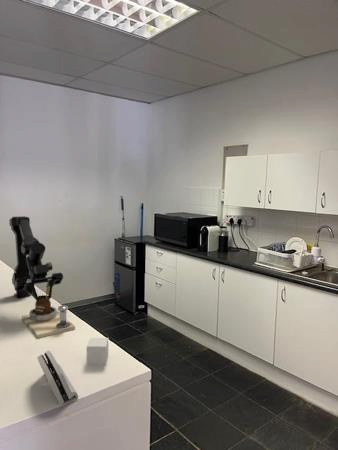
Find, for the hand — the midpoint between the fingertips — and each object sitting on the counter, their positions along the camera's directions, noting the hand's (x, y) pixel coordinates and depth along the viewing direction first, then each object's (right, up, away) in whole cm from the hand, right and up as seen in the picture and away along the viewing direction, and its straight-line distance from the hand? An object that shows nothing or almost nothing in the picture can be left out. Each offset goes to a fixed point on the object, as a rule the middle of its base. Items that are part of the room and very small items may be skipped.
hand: (44, 299), depth 136 cm
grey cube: (+28, -13, -28) cm, 42 cm away
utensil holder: (-1, -7, +2) cm, 7 cm away
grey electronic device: (+19, -15, -44) cm, 50 cm away
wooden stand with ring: (+2, -9, -2) cm, 10 cm away
